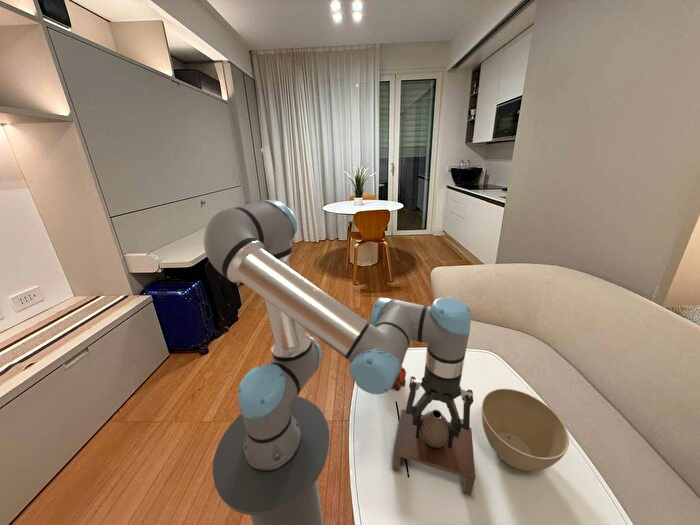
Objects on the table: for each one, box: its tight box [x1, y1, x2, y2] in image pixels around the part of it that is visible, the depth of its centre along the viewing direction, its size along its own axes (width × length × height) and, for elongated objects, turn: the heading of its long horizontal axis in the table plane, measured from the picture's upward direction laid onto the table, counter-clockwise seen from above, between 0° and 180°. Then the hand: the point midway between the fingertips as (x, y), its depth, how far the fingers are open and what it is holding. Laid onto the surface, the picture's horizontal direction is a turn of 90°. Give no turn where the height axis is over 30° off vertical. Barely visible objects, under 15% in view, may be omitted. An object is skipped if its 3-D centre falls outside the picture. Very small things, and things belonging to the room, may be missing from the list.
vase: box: [420, 409, 450, 448], centre depth 64 cm, size 7×7×9 cm
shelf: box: [392, 408, 476, 497], centre depth 67 cm, size 18×12×7 cm, turn 71°
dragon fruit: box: [390, 365, 407, 392], centre depth 90 cm, size 8×8×12 cm
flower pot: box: [481, 388, 570, 472], centre depth 67 cm, size 18×18×12 cm
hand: (433, 437), depth 66 cm, fingers closed on vase, 7 cm apart
